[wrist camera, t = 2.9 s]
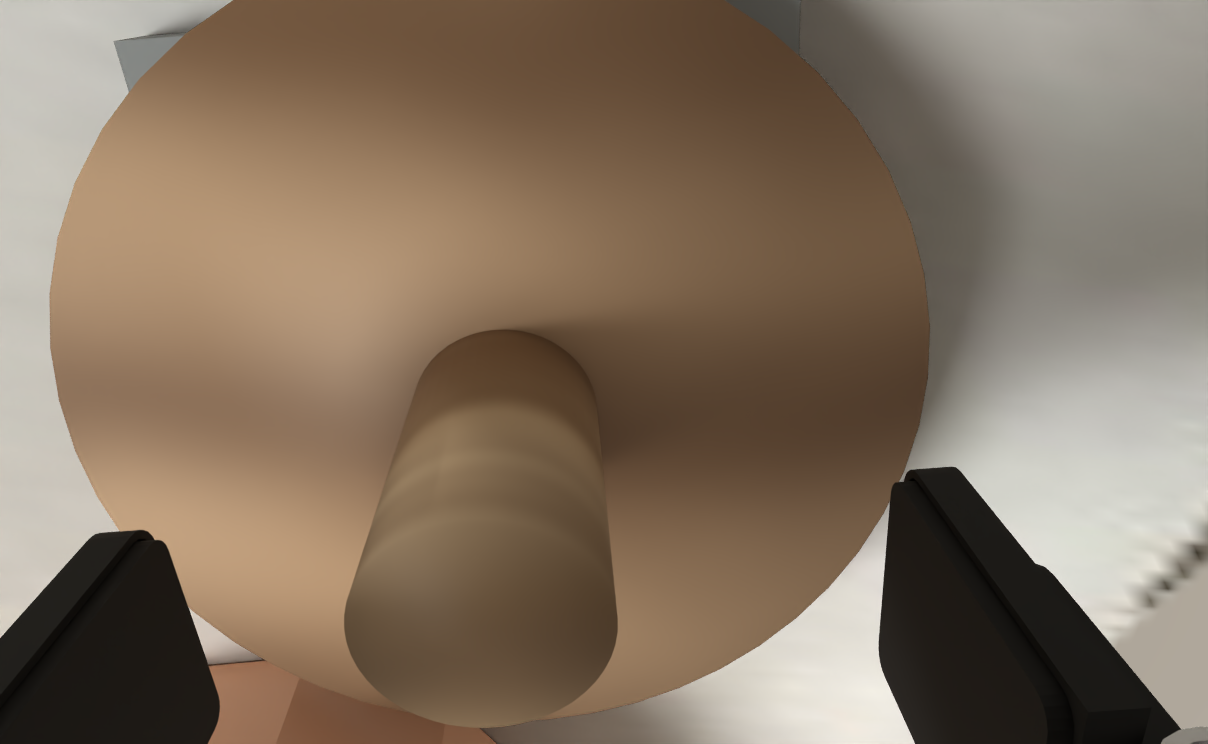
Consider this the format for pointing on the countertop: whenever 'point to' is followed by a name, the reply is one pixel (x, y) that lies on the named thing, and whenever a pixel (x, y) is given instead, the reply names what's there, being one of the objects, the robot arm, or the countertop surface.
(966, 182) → the countertop surface
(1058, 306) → the countertop surface
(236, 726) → the bowl
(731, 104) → the lid
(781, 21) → the mat
